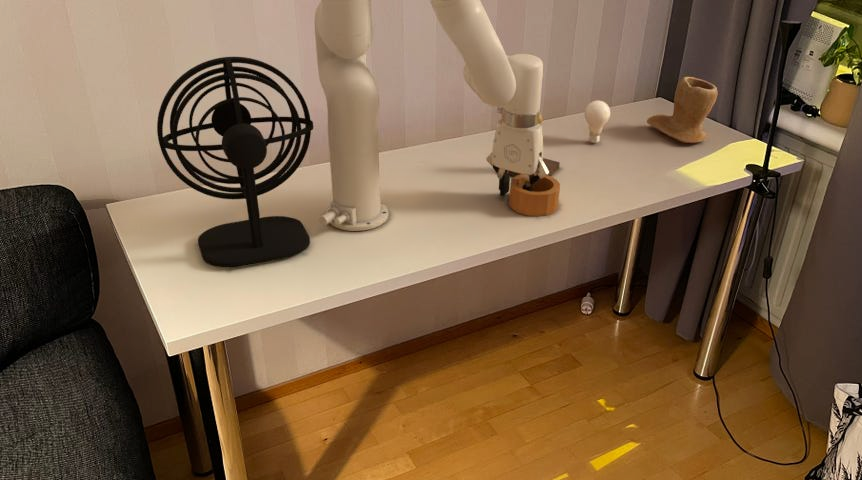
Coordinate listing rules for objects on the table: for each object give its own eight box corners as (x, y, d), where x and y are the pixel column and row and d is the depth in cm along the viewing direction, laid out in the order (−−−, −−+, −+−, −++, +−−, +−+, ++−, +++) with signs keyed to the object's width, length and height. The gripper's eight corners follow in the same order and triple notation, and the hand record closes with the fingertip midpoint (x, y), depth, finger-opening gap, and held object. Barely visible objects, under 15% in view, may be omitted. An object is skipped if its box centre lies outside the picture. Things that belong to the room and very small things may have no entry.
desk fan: (313, 210, 162) (298, 41, 143) (336, 251, 149) (324, 70, 130) (175, 233, 152) (140, 54, 133) (187, 279, 139) (151, 88, 120)
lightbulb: (579, 145, 196) (583, 103, 190) (583, 136, 202) (588, 95, 196) (604, 149, 195) (609, 107, 189) (608, 140, 200) (613, 98, 194)
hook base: (541, 184, 177) (541, 177, 176) (501, 173, 181) (502, 167, 180) (559, 168, 184) (559, 162, 184) (521, 158, 188) (521, 152, 187)
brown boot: (717, 142, 202) (729, 85, 194) (682, 149, 197) (693, 91, 189) (678, 121, 213) (688, 67, 205) (644, 128, 208) (653, 72, 200)
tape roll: (545, 220, 162) (547, 199, 160) (500, 207, 166) (502, 186, 164) (565, 201, 170) (567, 180, 167) (522, 189, 174) (524, 169, 172)
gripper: (475, 113, 161) (472, 193, 170) (550, 132, 154) (543, 214, 164) (493, 103, 166) (489, 181, 176) (566, 120, 159) (557, 200, 169)
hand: (515, 196), depth 170 cm, fingers open, 4 cm apart
